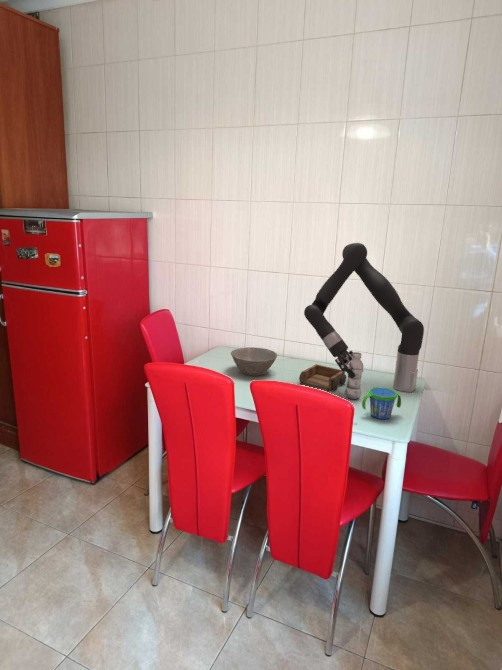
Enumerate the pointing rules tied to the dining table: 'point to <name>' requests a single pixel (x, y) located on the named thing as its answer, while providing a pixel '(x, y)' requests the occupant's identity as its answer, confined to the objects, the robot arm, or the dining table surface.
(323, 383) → the tray
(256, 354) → the ceramic bowl
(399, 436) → the dining table surface
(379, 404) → the snack cup
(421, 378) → the dining table surface
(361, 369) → the grey ridged cylindrical piece
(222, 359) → the dining table surface
